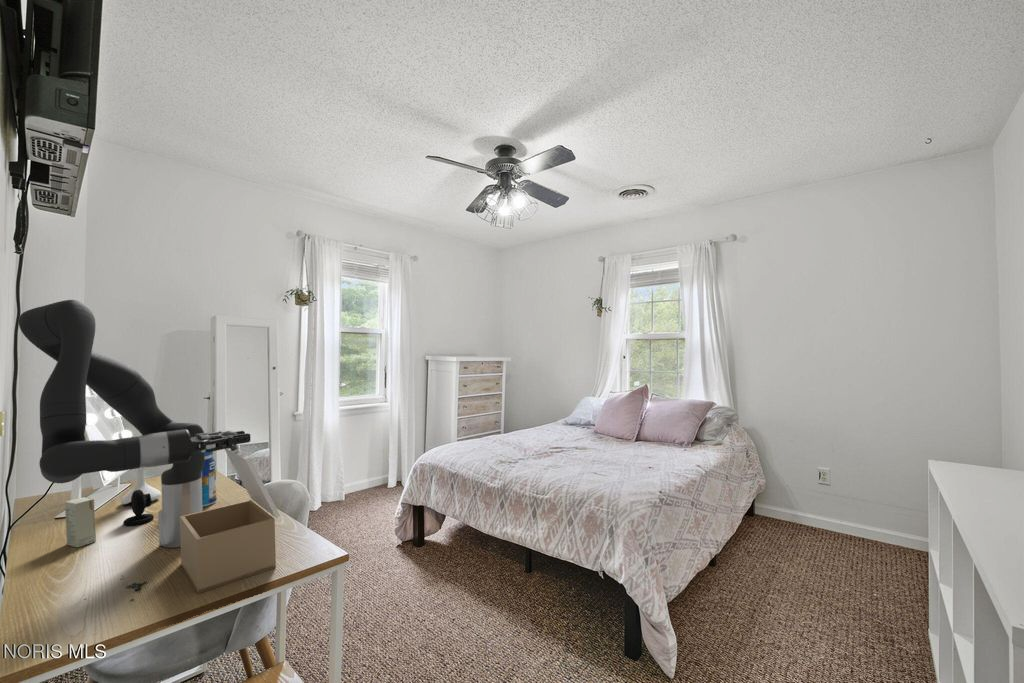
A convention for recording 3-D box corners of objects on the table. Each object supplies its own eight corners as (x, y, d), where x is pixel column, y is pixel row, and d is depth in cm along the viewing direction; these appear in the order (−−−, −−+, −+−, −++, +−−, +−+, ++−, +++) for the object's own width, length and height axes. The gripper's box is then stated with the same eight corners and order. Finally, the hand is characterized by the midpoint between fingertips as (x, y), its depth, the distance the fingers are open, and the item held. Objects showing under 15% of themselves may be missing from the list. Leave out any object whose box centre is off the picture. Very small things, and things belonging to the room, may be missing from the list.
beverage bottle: (182, 506, 158) (181, 448, 158) (208, 498, 165) (207, 442, 165) (196, 510, 154) (195, 450, 154) (222, 501, 161) (220, 445, 161)
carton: (198, 593, 101) (196, 539, 101) (181, 563, 116) (179, 516, 116) (275, 567, 113) (274, 518, 113) (251, 543, 127) (250, 499, 127)
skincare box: (96, 541, 130) (95, 498, 130) (77, 548, 126) (75, 504, 126) (85, 538, 133) (83, 496, 133) (65, 544, 129) (64, 501, 129)
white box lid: (226, 442, 105) (246, 432, 108) (206, 431, 120) (223, 422, 123) (269, 522, 111) (287, 511, 114) (244, 502, 126) (260, 492, 129)
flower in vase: (144, 507, 157) (142, 434, 157) (111, 508, 157) (109, 435, 157) (173, 494, 170) (171, 427, 170) (142, 495, 170) (140, 428, 170)
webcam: (156, 521, 145) (155, 489, 145) (125, 528, 139) (124, 496, 139) (150, 515, 150) (150, 484, 150) (121, 522, 144) (120, 490, 144)
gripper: (168, 436, 101) (255, 424, 112) (159, 428, 111) (239, 418, 123) (169, 470, 101) (256, 455, 113) (160, 459, 111) (240, 446, 123)
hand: (246, 436), depth 118 cm, fingers closed on white box lid, 4 cm apart
